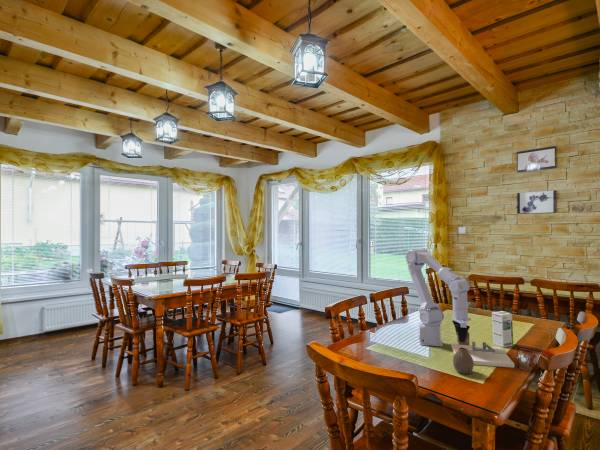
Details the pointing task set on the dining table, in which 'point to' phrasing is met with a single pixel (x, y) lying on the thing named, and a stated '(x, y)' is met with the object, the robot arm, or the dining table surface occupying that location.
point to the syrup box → (502, 328)
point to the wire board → (486, 356)
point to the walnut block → (465, 340)
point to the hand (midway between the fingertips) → (461, 339)
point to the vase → (463, 361)
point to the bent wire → (483, 348)
